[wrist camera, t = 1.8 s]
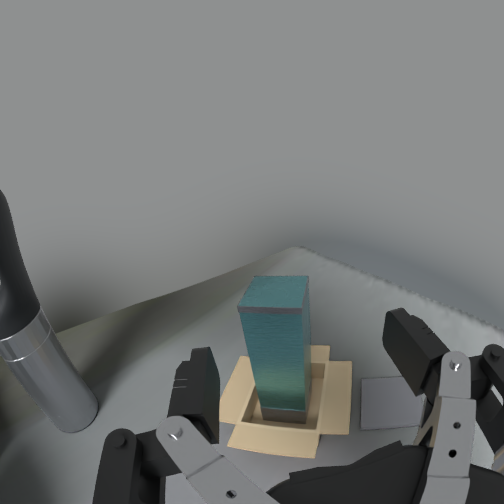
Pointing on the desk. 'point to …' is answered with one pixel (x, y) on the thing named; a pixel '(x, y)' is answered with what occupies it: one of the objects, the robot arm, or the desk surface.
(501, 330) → the desk surface
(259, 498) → the robot arm
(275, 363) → the tall box
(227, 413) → the carton
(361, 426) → the mat
